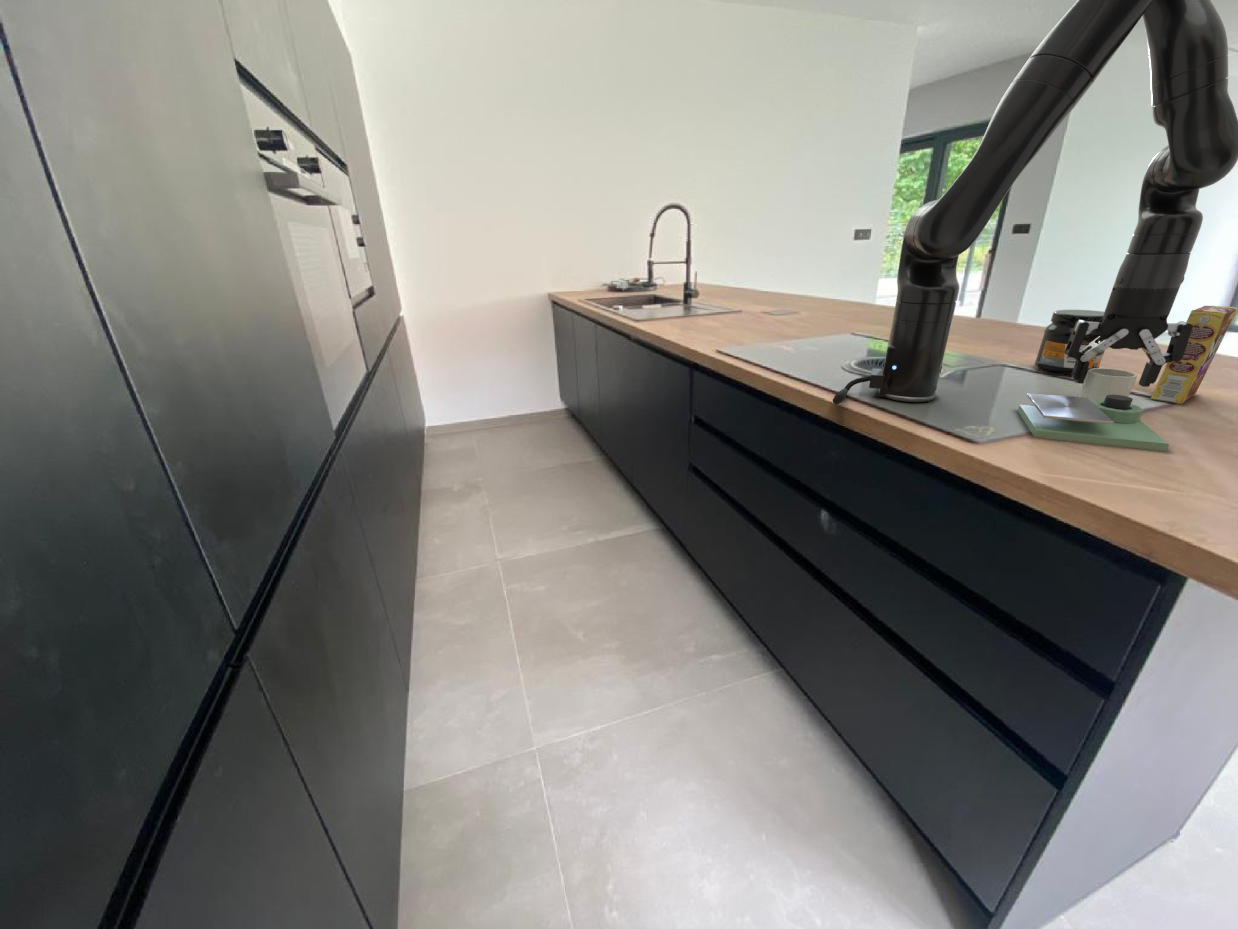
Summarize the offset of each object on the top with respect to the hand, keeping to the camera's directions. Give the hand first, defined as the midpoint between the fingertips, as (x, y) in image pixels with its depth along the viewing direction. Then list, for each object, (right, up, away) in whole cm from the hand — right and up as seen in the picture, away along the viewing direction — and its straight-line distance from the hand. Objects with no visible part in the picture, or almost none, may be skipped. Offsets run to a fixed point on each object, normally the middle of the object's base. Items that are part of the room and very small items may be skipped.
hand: (1109, 383), depth 86 cm
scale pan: (-15, -5, -9) cm, 19 cm away
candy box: (+14, -2, +3) cm, 15 cm away
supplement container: (+11, +6, +21) cm, 24 cm away
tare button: (-8, -5, -9) cm, 12 cm away
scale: (-13, -8, -9) cm, 18 cm away
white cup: (0, -3, +1) cm, 4 cm away
